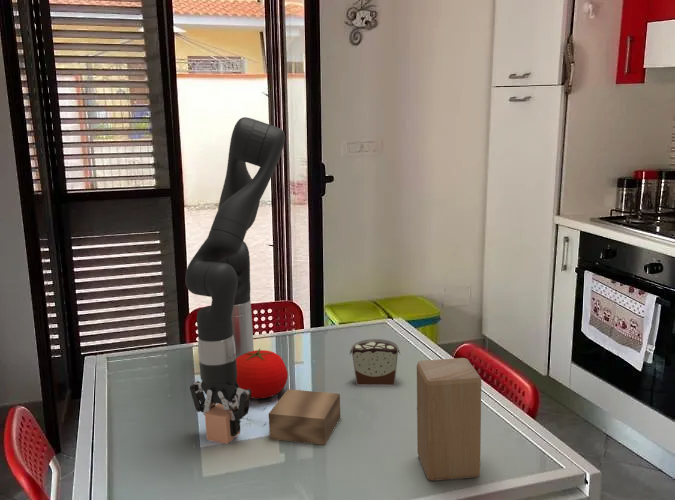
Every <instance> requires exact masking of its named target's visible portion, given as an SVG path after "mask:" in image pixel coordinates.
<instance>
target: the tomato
mask: <svg viewBox="0 0 675 500" xmlns="http://www.w3.org/2000/svg"><path fill="white" fill-rule="evenodd" d="M236 362H237V383H238V385H239V388H241V389H244V390H247V389H250V390H251V398H250V399H258V400H259V399H266V398H270V397H273V396H275V395H277V394H279V393H280V392H281V391H282V390H283V389H284V388H285V386H286V384H287V380H288V377H289V374H288V370H287V366H286V363H285V362H284V360H283V358H282V357H281V356H280V355H279V354H277V353H275V352H273V351H271V350H264V349H261V348H259V349H258V350H254V351H251V352H248V353H243V355H241V356H239V357H237V358H236Z"/></svg>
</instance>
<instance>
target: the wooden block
mask: <svg viewBox="0 0 675 500" xmlns="http://www.w3.org/2000/svg"><path fill="white" fill-rule="evenodd" d="M416 417H417V418H416V419H417V420H416V421H417V422H416V426H417V427H416V428H417V430H416V431H417V433H416V434H417V435H416V436H417V438H416V439H417V442H416V444H417V446H416V447H417V450H416V451H417V455H418V457H419V461H420V462H421V465H422V468H423V471H424V473H425V475H426V477H427V479H428V480H429V481H432V482H433V481H446V480H457V479H458V480H459V479H469V478H477V477H480V474H481V443H482V441H481V440H482V439H481V436H482V435H481V434H482V431H481V430H482V427H481V426H482V425H481V423H482V422H481V421H482V377H481V375H479V373H478V371H477V370H476V368H475V367H474V366H473V364H471V362H470V360H469V359H468V358H465V357H457V358H456V357H455V358H441V359H429V360H425V359H424V360H419V361H417V365H416Z"/></svg>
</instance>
